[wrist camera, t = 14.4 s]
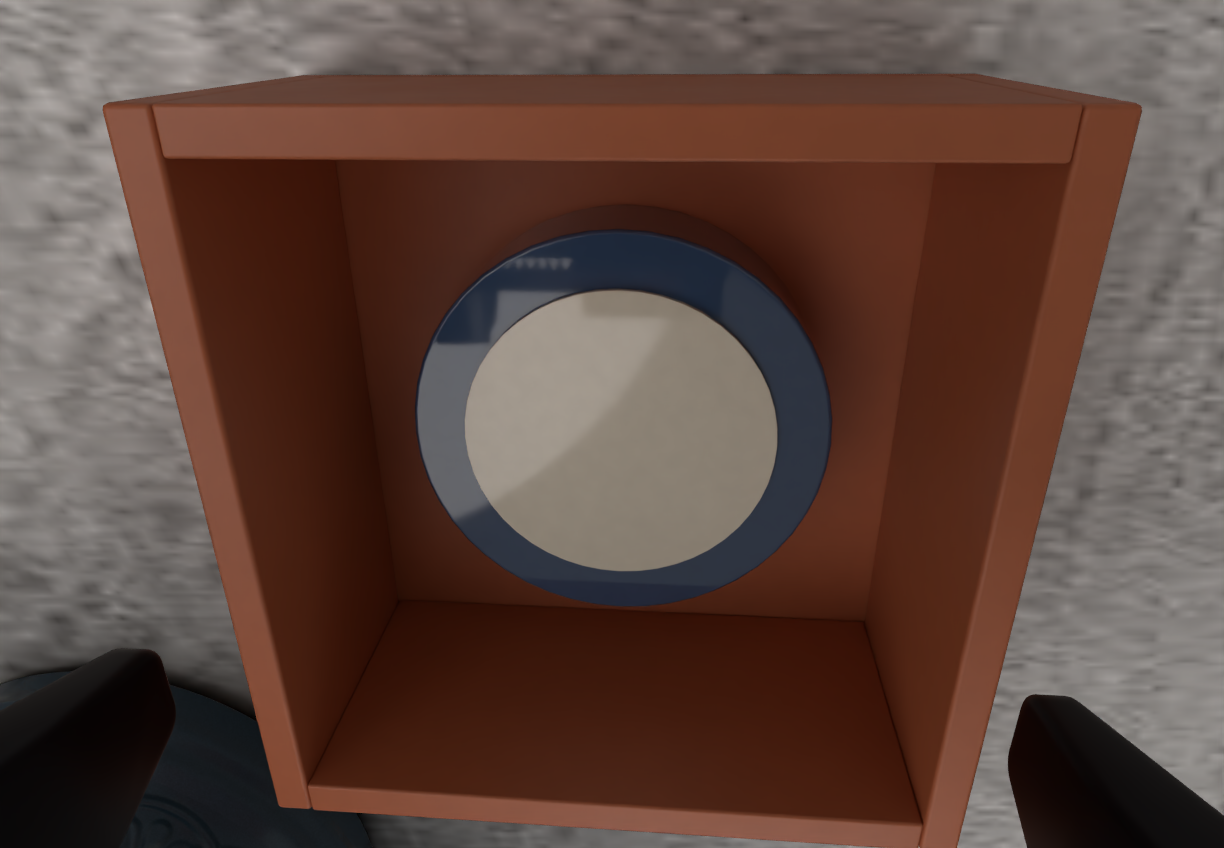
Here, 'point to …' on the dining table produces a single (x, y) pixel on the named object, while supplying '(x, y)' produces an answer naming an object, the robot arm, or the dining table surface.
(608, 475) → the navy jar lid
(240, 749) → the canister
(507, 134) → the tub
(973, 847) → the dining table surface
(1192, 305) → the dining table surface
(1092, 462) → the dining table surface
